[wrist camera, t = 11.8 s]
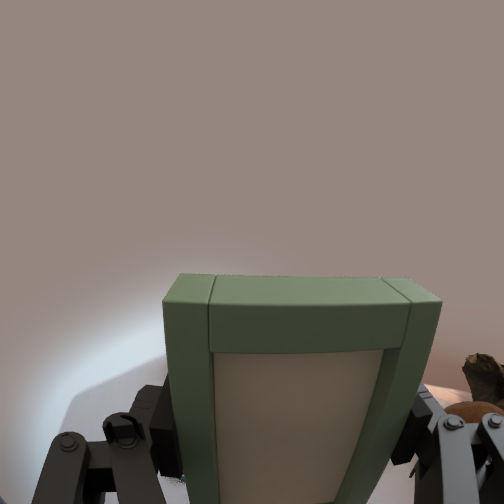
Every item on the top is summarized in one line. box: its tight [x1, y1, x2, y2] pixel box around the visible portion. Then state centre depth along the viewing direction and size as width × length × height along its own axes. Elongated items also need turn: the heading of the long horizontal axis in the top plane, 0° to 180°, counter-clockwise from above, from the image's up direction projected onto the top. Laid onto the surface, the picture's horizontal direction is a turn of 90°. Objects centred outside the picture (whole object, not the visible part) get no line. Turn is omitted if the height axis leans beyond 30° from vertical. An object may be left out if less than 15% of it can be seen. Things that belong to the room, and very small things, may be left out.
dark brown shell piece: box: [462, 353, 504, 411], centre depth 27 cm, size 16×9×7 cm, turn 178°
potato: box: [444, 401, 504, 458], centre depth 22 cm, size 7×10×7 cm
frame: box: [162, 273, 442, 504], centre depth 11 cm, size 8×2×13 cm, turn 92°
